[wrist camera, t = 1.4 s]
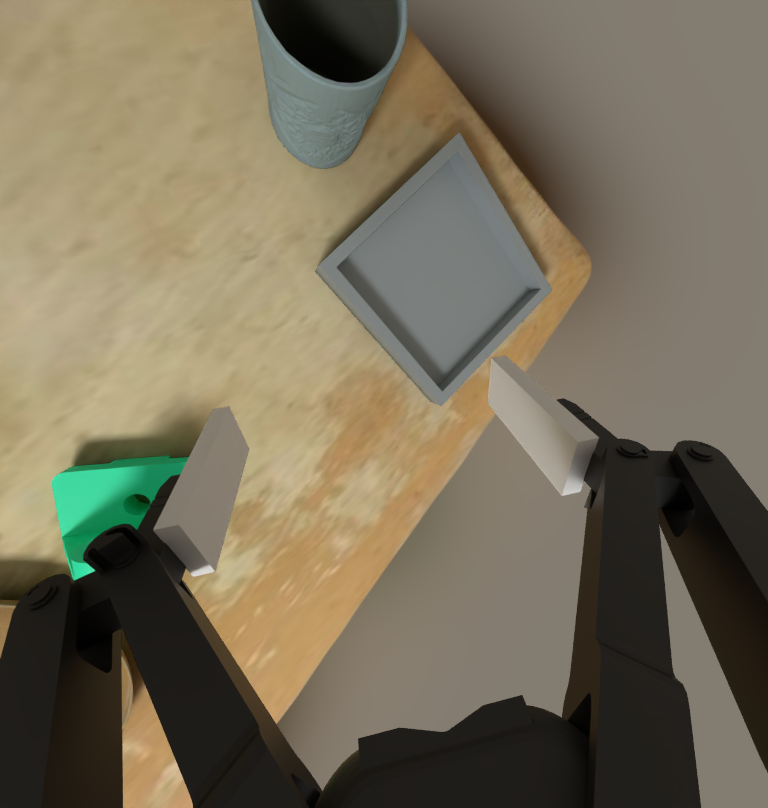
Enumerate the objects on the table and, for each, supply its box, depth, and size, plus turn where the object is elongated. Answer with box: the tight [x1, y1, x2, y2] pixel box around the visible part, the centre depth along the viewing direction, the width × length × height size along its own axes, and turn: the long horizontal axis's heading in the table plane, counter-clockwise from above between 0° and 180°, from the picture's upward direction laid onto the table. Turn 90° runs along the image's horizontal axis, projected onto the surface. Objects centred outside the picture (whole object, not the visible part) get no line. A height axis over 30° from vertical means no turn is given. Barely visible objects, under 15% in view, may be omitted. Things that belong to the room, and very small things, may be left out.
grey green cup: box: [251, 0, 408, 169], centre depth 25 cm, size 10×10×12 cm
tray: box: [315, 132, 552, 406], centre depth 36 cm, size 20×20×3 cm
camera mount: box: [52, 456, 189, 580], centre depth 28 cm, size 12×8×10 cm, turn 89°
